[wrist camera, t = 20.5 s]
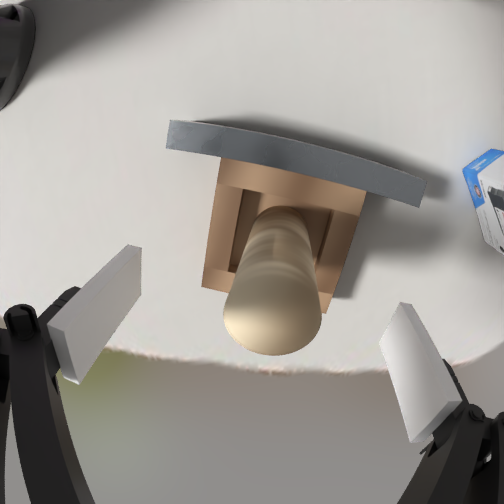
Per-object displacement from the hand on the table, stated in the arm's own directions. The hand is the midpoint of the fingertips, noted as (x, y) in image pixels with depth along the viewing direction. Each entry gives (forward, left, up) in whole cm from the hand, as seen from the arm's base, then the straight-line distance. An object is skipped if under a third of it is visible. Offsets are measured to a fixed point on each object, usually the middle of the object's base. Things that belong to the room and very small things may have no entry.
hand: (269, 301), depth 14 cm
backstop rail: (0, +6, -12) cm, 14 cm away
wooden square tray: (0, -1, -12) cm, 12 cm away
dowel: (0, 0, -11) cm, 11 cm away
